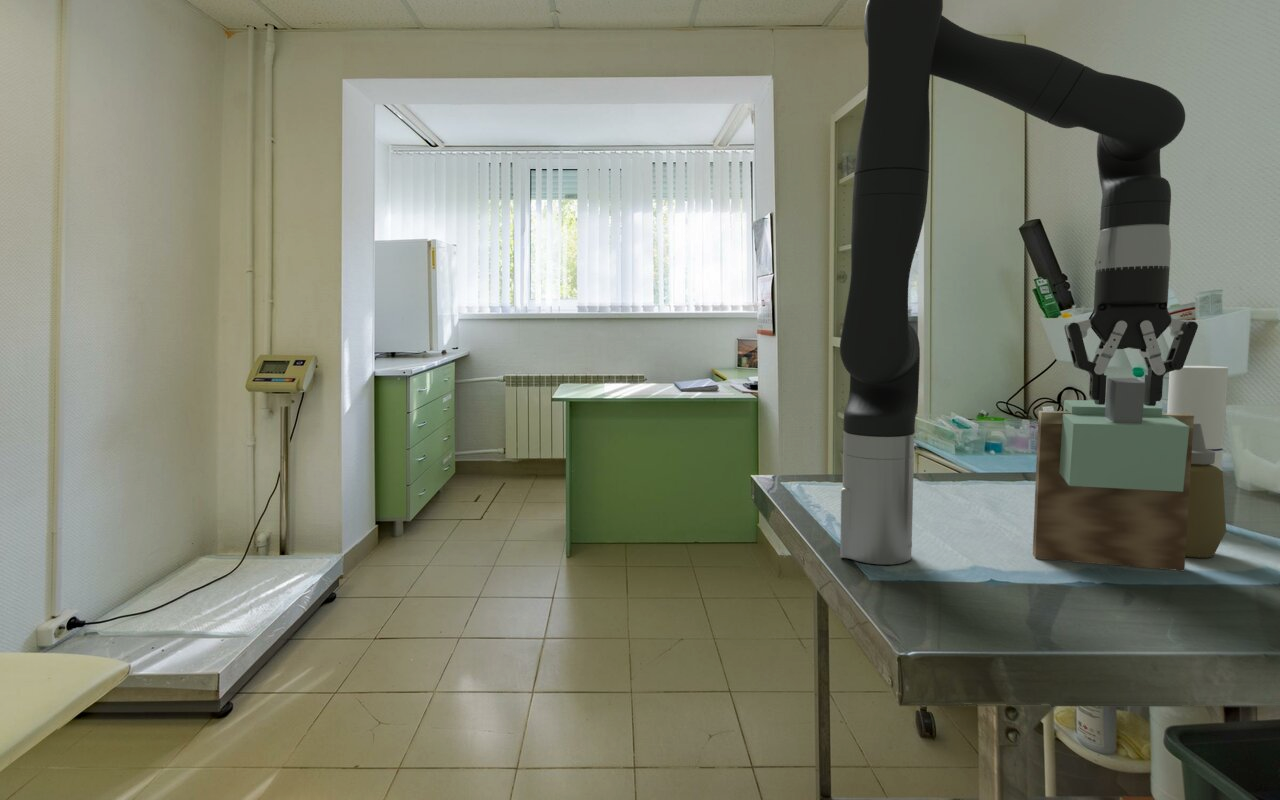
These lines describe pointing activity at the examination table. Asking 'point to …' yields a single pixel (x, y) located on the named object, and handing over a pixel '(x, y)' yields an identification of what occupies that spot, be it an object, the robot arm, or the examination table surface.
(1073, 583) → the examination table surface
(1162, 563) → the wall board
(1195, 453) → the squeeze bottle
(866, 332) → the robot arm
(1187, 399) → the cylindrical container
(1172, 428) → the green box
